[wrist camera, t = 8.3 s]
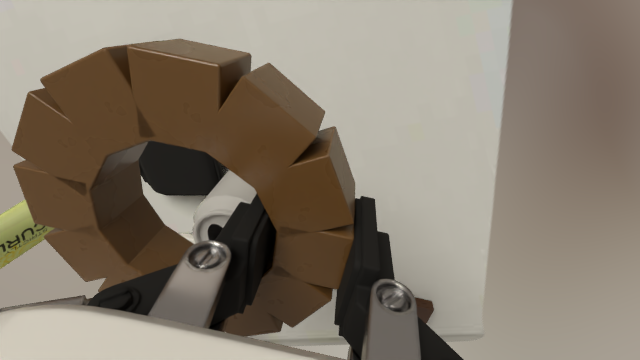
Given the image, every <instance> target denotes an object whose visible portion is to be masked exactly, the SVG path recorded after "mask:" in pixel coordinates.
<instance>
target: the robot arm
mask: <svg viewBox="0 0 640 360" xmlns="http://www.w3.org/2000/svg"><path fill="white" fill-rule="evenodd" d="M178 234H180V235H181V236H183V237H184V238H186V239H187V240H189V241H190V242H192V243H193V244H194V245H192V246H191V247H189V248H188V249H187V250H186V252H185V253H184V255H183V256H182V258H181V260H180V261H179V263H178V264H176V265H173V266H170V267H167V268H164V269H161V270H158V271H155V272H152V273H149V274H146V275H143V276H140V277H137V278H134V279H131V280H128V281H125V282H122V283H119V284H116V285H113V286H111V287H108V288H106V289H104V290H102V291H101V292H99V293H98V294H96V295H95V296H94V297H93V298H90V299H86V296H85V295H83V296H77V297H71V298H64V299H58V300H51V301H44V302H38V303H32V304H25V305H18V306H12V307H5V308H1V309H0V360H345V359H341V358H337V357H332V356H328V355H324V354H319V353H315V352H310V351H306V350H301V349H297V348H292V347H288V346H284V345H279V344H275V343H270V342H266V341H261V340H257V339H252V338H248V337H243V336H239V335H234V334H230V333H225V329H226V326H227V323H228V318H229V317H231V316H233V315H235V314H237V313H240V314H243V312H244V310H245V307H246V305H249V306H251V305H252V303H253V301H254V298H255V295H256V293H257V290H258V287H259V285H260V282H261V279H262V275H263V272H264V269H265V267H266V264H267V261H268V259H269V256H270V253H271V251H272V248H273V246H274V243H275V238H276V229H275V227H274V225H273V224H272V222H271V220H270V218H269V216H268V214H267V212H266V210H265V208H264V206H263V204H262V202H261V200H260V198H259V196H258V194H256V195H255V197H254V199H253V200H252V202H251V204H249V203H245V202H240V203H239V204H238V206H237V207H236V209H235V210H234V212H233V213H232V215H231V216H230V218H229V220H228V221H227V223H226V224H225V226H224V227H223V229H222V230H221V232H220V233H219V235H218V237H217V238H216V240H215V241H211V240H207V241H201V242H198V243H195V241H194V239H193V235H192V234H186V233H178ZM334 324H335V325H339V336H343V337H344V338H345V339H346V341H347V342H348V343H349V344H350V347H349V351H348V359H347V360H463V359H462V358H461V357H460V356H459V355H458V354H457V353H456V352H455V351H454V350H453V349H452V348H451V347H450V346H449V345H447V343H446V342H444V341H443V340H442V339H441V338H440V337H439V336H438V335H437V334H436V333H435V332H434V331H433V330H432V329H431V328H430V327H429V326H428V325H427V324H425V323H424V322H423V321H422V320H421V319H420V318H419V317H418V316H417V306H416V300H415V297H414V295H413V294H412V292H411V291H410V290H409V289H408V288H407V287H406V286H405V285H403V284H402V283H400V282H398V281H395V280H394V272H393V264H392V257H391V249H390V241H389V235H388V234H387V233H383V232H379V231H377V222H376V209H375V199H373V198H368V197H364V196H361V198H360V199H357V198H356V199H355V215H354V240H353V243H352V247H351V250H350V253H349V257H348V260H347V263H346V266H345V270H344V273H343V276H342V280H341V283H340V286H339V289H337V297H336V309H335V321H334Z"/></svg>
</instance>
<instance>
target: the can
mask: <svg viewBox="0 0 640 360" xmlns="http://www.w3.org/2000/svg"><path fill="white" fill-rule="evenodd" d="M256 194H257V193H256V191H255V189H254V188H253V187H252V186H251V185H249V184H248V183H246V182H245V181H244V180H242V179H241V178H240V177H238V176H237V175H236V174H234V173H233V172H232V171H230V170H229V171H228V172H227V173H226V174H225V175H224V177H223V178H222V179H221V180H220V181H219V183H218V184H217V185H216V186H215V187H214V188H213V190H212V191H211V192H210V193H209V194H208V195H207V197H206V198H205V199H204V200H203V201H202V203H201V204H200V205H199V206H198V207H197V208H196V212H195V215H194V226H193V229H192V231H193V239H194V241H195V243H198V242H201V241H207V240H211V241H215V240H216V238H217V237H218V235H219V233H220V232H221V230H222V229H223V227H224V226H225V224H226V223H227V221H228V220H229V218H230V216H231V215H232V213H233V212H234V210H235V209H236V207H237V206H238V204H239V203H240V202H245V203H249V204H251V202H252V200H253V199H254V197H255V195H256Z"/></svg>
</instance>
